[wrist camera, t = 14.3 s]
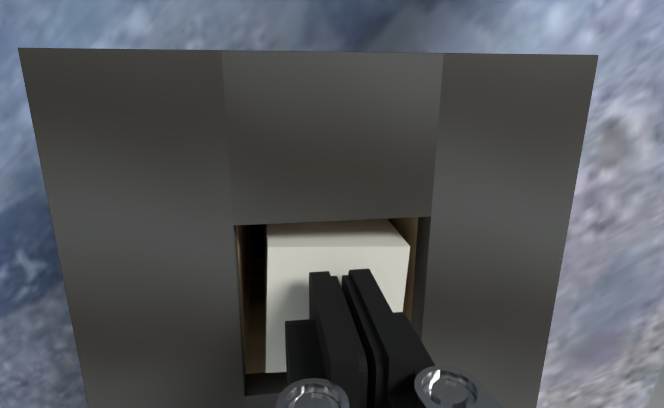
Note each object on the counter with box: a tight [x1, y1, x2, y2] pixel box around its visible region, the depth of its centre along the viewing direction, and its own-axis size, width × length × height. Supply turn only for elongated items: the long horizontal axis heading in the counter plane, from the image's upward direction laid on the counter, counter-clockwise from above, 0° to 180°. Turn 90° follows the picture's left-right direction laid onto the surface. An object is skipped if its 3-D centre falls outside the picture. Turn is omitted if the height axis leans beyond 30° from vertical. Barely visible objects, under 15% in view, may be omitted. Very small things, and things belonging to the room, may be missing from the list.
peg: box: [265, 219, 410, 373], centre depth 17 cm, size 4×4×10 cm
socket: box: [18, 48, 598, 408], centre depth 17 cm, size 14×14×10 cm
